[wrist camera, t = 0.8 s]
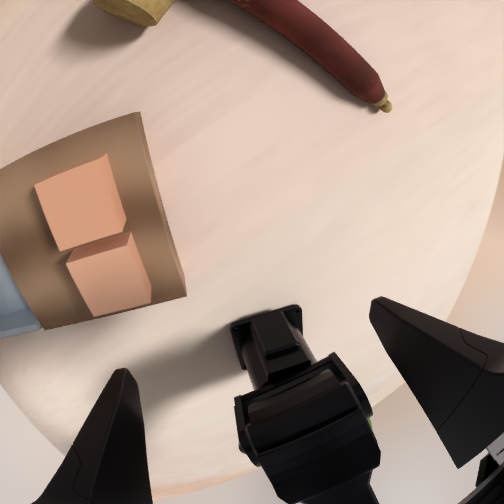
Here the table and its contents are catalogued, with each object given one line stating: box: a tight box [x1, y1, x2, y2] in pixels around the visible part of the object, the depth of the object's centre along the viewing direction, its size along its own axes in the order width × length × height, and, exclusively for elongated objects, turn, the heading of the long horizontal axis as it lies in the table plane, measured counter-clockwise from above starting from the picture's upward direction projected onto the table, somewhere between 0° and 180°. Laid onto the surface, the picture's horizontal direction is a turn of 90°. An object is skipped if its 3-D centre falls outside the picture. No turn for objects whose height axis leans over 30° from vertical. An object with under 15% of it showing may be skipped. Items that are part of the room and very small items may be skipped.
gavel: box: [93, 0, 392, 113], centre depth 13 cm, size 21×5×10 cm
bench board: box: [0, 112, 187, 330], centre depth 16 cm, size 12×12×2 cm
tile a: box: [66, 231, 152, 317], centre depth 16 cm, size 4×4×2 cm
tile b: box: [34, 153, 126, 251], centre depth 13 cm, size 4×4×2 cm
